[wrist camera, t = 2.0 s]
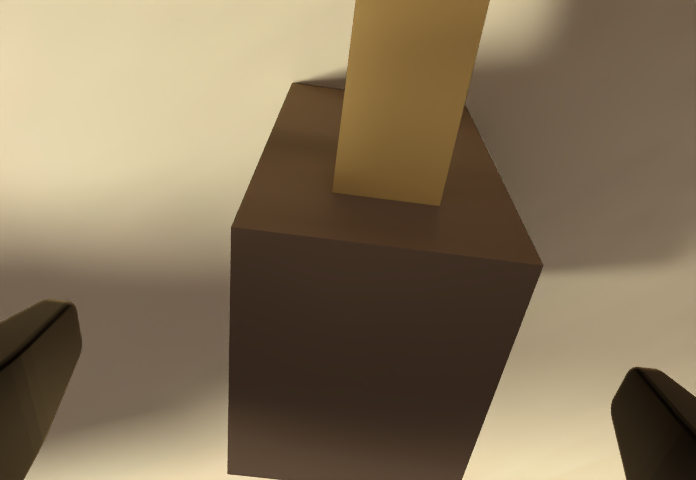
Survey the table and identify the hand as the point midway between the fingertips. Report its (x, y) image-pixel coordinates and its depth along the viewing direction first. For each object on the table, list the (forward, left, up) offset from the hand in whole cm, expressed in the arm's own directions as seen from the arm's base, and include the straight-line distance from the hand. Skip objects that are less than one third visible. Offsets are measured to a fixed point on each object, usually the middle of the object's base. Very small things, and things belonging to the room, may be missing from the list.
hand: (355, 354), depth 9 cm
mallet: (+4, 0, -6) cm, 7 cm away
